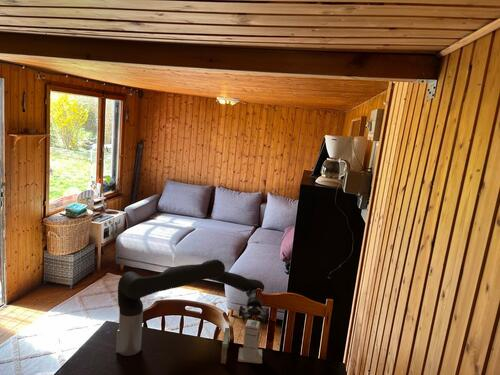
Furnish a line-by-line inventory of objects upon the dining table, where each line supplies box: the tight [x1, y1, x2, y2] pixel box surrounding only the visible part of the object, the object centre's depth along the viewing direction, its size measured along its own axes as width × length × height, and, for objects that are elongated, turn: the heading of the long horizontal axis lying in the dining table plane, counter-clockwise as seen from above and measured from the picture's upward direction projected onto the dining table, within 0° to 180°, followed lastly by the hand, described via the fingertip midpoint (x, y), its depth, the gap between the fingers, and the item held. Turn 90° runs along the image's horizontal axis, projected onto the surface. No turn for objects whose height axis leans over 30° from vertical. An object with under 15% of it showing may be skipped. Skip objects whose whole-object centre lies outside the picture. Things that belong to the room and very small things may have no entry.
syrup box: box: [242, 319, 261, 360], centre depth 151 cm, size 6×6×14 cm
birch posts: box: [220, 331, 231, 364], centre depth 152 cm, size 2×13×7 cm, turn 178°
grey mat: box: [237, 347, 263, 365], centre depth 153 cm, size 10×8×1 cm
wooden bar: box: [221, 327, 231, 349], centre depth 152 cm, size 2×12×2 cm, turn 178°
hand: (253, 320), depth 161 cm, fingers open, 8 cm apart
